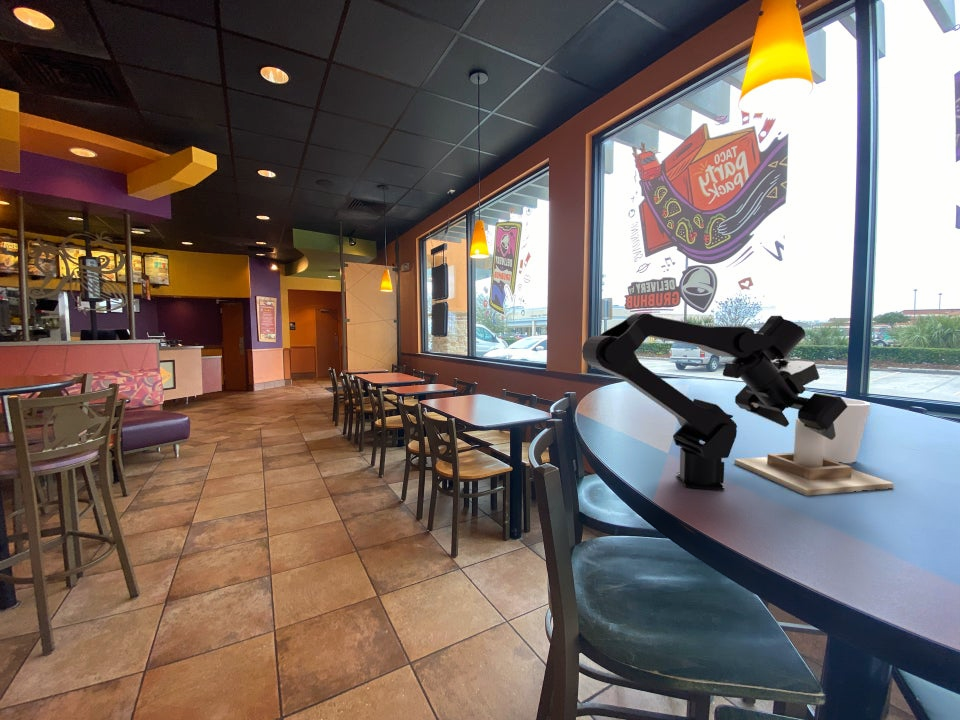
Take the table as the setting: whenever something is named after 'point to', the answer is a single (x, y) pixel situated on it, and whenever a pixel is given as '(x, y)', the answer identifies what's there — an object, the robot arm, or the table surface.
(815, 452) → the white bottle
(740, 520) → the table surface
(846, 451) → the foam cup
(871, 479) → the plate
